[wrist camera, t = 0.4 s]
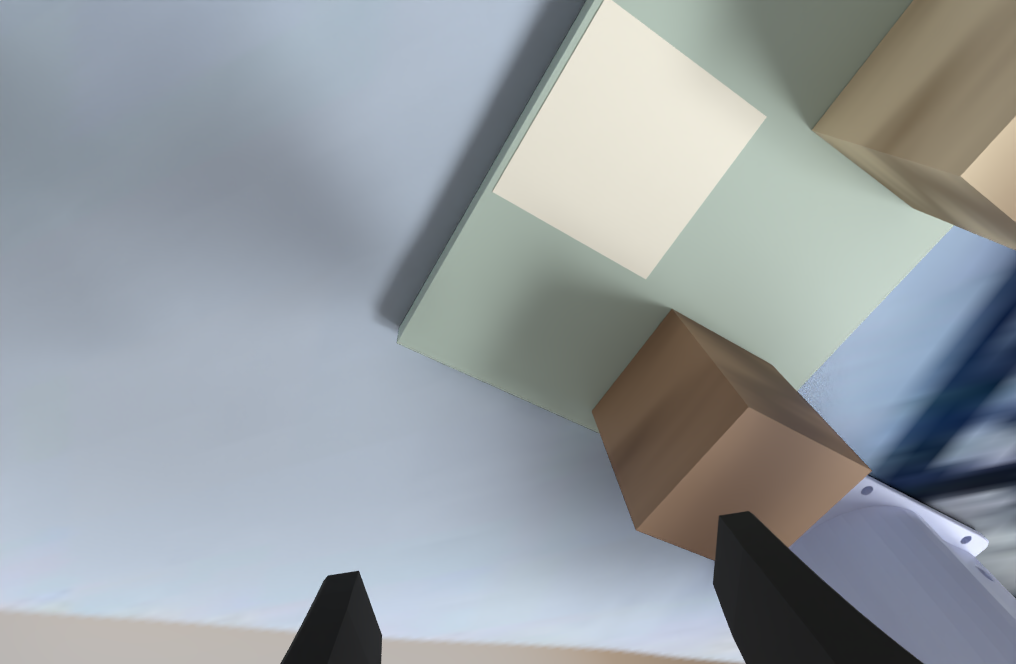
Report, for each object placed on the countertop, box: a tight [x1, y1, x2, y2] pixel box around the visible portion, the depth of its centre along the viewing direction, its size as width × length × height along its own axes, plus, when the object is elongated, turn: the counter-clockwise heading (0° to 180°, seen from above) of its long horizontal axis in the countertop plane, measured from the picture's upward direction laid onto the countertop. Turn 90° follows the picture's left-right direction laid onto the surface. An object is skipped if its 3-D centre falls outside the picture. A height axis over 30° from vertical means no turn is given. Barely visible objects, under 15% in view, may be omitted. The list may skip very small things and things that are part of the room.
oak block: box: [812, 0, 1016, 250], centre depth 14 cm, size 5×5×5 cm
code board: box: [397, 0, 954, 434], centre depth 18 cm, size 14×17×1 cm
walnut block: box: [592, 309, 872, 561], centre depth 18 cm, size 5×5×5 cm
